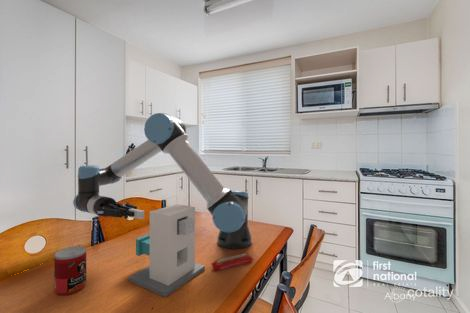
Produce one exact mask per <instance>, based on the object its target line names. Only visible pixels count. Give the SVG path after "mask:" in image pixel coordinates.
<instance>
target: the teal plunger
mask: <svg viewBox="0 0 470 313" xmlns="http://www.w3.org/2000/svg"><path fill="white" fill-rule="evenodd" d="M142 255H146V256H149V257H150V233H148V234H146V235H145V234H144V235H142V236H140V237H137V238H135V256H138V257H141V256H142Z"/></svg>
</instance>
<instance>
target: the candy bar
mask: <svg viewBox="0 0 470 313" xmlns="http://www.w3.org/2000/svg"><path fill="white" fill-rule="evenodd" d="M252 261H254V258H253V257H252V256H251V255H250V254H249V253H247V252H244V253H240V254H235V255H231V256H227V257H223V258H219V259H216V260H214V261H213V262H212V263H211V266H212V269H213V270H214V271H218V272H219V271H222V270H226V269H230V268H234V267H238V266H242V265H245V264H248V263H251V262H252Z"/></svg>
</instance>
